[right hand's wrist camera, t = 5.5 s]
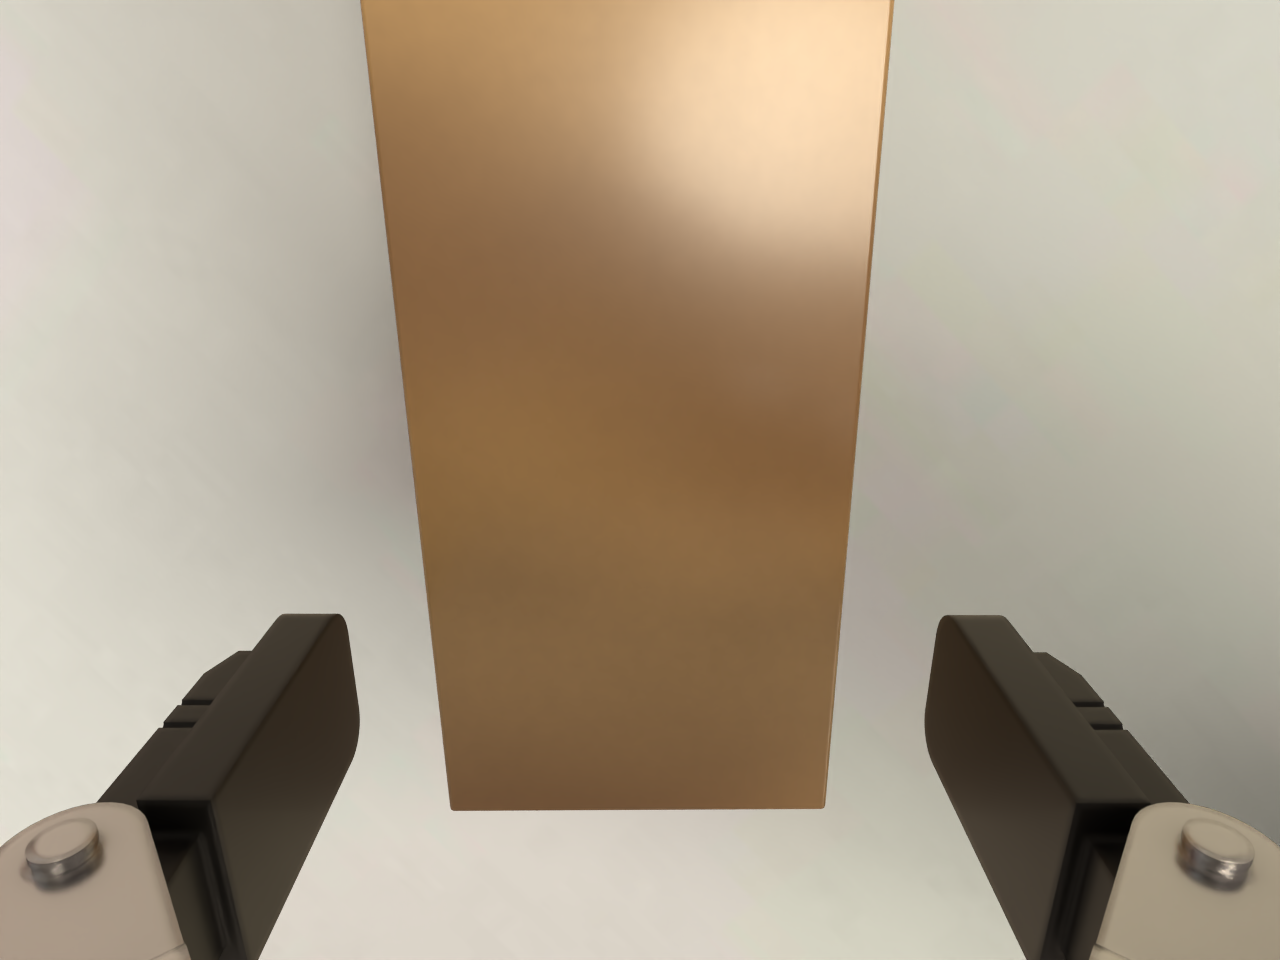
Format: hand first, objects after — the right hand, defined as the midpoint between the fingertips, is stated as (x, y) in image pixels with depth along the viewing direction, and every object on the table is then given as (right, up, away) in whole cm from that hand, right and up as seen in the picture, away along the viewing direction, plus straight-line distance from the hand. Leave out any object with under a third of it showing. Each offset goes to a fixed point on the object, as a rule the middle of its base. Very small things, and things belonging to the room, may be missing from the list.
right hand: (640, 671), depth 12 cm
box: (0, +14, +8) cm, 16 cm away
